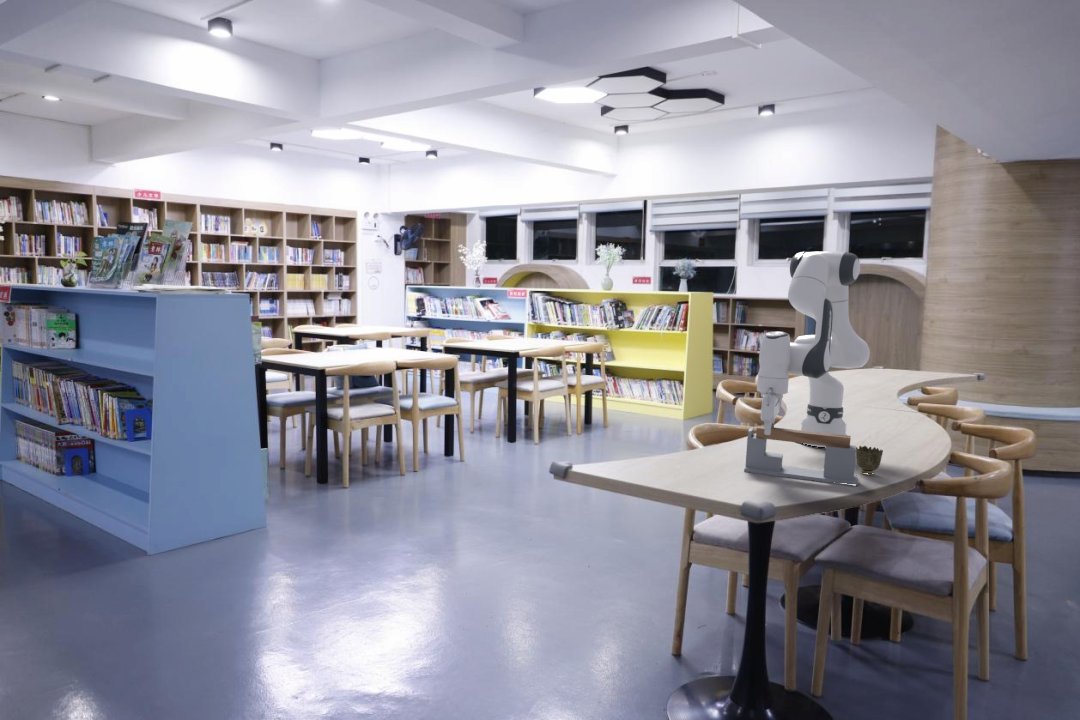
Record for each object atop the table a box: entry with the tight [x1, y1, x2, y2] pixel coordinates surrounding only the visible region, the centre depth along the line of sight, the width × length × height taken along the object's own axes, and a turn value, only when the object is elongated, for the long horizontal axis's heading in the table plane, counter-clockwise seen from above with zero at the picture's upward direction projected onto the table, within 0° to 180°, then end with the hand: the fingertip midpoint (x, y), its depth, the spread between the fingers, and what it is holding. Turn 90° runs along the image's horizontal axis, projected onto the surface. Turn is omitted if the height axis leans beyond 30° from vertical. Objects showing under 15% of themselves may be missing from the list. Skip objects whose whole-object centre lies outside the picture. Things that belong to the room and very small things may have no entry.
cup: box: [855, 445, 884, 474], centre depth 223 cm, size 8×7×8 cm
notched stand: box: [743, 427, 858, 485], centre depth 218 cm, size 10×31×12 cm, turn 67°
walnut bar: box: [755, 425, 852, 449], centre depth 218 cm, size 4×26×11 cm, turn 67°
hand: (769, 431), depth 222 cm, fingers open, 8 cm apart
